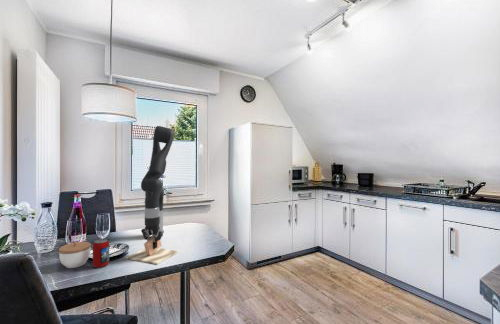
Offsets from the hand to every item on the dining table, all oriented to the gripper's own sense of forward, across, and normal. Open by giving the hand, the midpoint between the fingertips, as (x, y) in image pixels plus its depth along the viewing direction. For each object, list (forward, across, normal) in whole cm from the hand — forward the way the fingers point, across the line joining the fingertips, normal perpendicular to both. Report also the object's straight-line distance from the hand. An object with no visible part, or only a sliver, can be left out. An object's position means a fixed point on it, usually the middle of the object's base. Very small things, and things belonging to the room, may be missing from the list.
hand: (152, 247), depth 129 cm
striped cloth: (+4, -1, +1) cm, 4 cm away
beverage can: (+4, +15, +18) cm, 24 cm away
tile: (+2, 0, -1) cm, 2 cm away
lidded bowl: (+4, +27, +22) cm, 35 cm away
